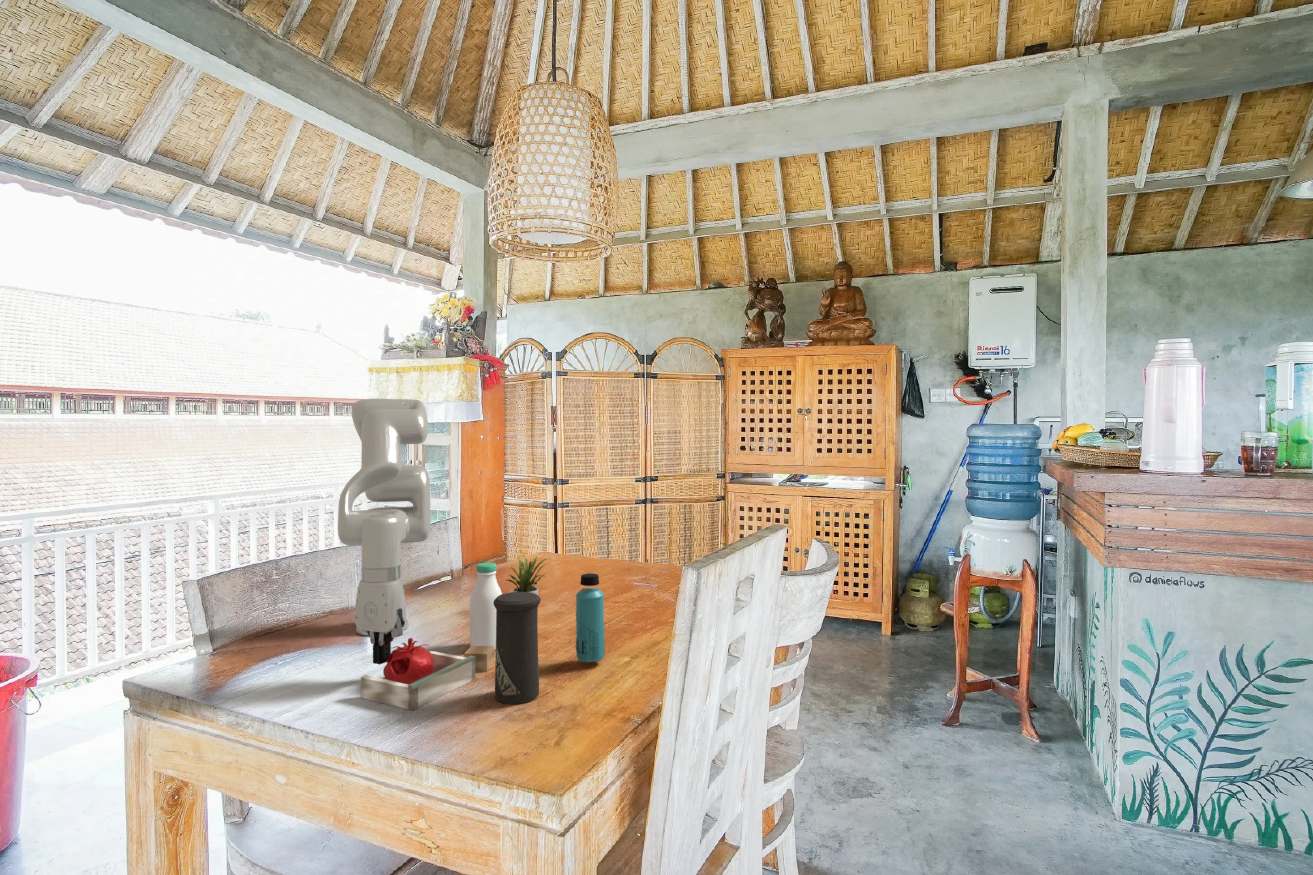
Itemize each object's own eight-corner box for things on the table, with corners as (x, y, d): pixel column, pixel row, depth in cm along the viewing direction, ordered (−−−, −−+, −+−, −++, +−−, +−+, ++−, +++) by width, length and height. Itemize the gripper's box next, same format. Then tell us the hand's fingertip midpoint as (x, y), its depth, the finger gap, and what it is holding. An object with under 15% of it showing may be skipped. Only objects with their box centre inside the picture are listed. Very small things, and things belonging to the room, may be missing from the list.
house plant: (565, 609, 189) (565, 552, 189) (532, 620, 177) (532, 560, 177) (529, 601, 197) (528, 547, 196) (494, 612, 185) (494, 555, 185)
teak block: (464, 671, 141) (464, 653, 141) (471, 663, 146) (471, 645, 146) (487, 672, 141) (487, 653, 140) (493, 663, 146) (493, 646, 145)
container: (497, 687, 132) (497, 589, 131) (542, 686, 132) (542, 588, 132) (490, 705, 123) (489, 600, 123) (538, 704, 124) (538, 599, 124)
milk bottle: (494, 653, 152) (494, 568, 151) (463, 651, 153) (463, 566, 153) (508, 643, 159) (508, 561, 159) (479, 641, 161) (478, 560, 160)
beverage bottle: (609, 660, 147) (609, 572, 147) (597, 670, 141) (597, 578, 141) (583, 657, 149) (583, 569, 149) (570, 667, 143) (570, 576, 143)
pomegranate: (420, 671, 141) (420, 627, 141) (443, 682, 134) (443, 637, 135) (374, 683, 134) (374, 637, 134) (396, 696, 127) (396, 648, 127)
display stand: (360, 697, 127) (360, 674, 127) (426, 668, 142) (426, 647, 142) (413, 710, 121) (413, 685, 121) (475, 678, 137) (475, 656, 137)
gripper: (340, 574, 136) (341, 662, 136) (393, 581, 129) (394, 673, 130) (370, 567, 142) (371, 651, 143) (422, 574, 136) (422, 661, 136)
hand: (381, 661), depth 136 cm, fingers closed
